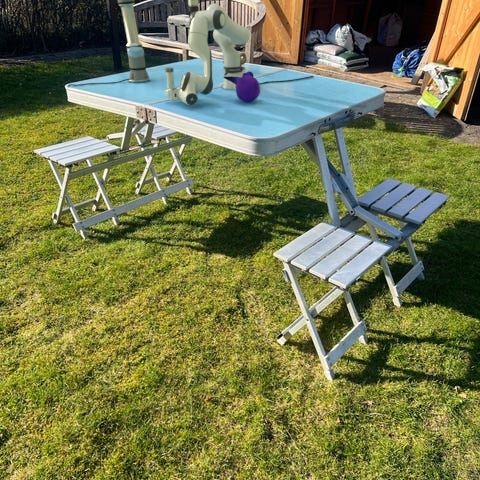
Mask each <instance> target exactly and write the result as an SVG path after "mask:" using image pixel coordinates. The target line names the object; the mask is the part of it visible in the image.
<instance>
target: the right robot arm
mask: <svg viewBox="0 0 480 480" xmlns="http://www.w3.org/2000/svg"><path fill="white" fill-rule="evenodd" d="M189 22H190V24H191V25H189V29H188V36H187V45H188V47H189V48H190V49H189V50H191V51H192V52H193V54H195V55H197V56H198V57H199V58H200V59H201V61H202V62H203V75H201V74H198V73H195V72H191V71H187V72H185V73H184V74H183V75H182V77H181V79H180V84H179V86H178V87H175V88H174V89H168V88H167V89H166V88H165V89H164V96H165V97H166V98H167V99H169V100H170V101H173V102H174V101H175V102H176V101H179V102H182V103H184V104H185V105H187V106H194V105H196V104H197V102H198V99H199V98H198V93H200V94H202V95H203V96H206V95H209V94H211V92H212V91H213V89H214V81H213V56H212V50H211V49H210V47H209V43H208V38H209V31H213V33H212V37H213V40H214V42H215V43H217V45H219V46H218V47H219V48H220V49H221V51H222V56H223V60H224V63H223V69H222V71H223V82H222V87H221V88H222V89H224V90H232V91H236V84H234V83H232V82H230V81H229V80H227V79H225V78H224V76H233V77H242V76H243V73H245V72H244V71H245V70H246V67H245V66H243V65H242V66H240V60H241V58H240V54H241V53H240V52H239V51H238V50H237V49H235V47H234V45H236V46H237V45H240V46H241V45H246V44H247V43H248V42H249V41H250V37H251V34H250V30H249V29H248V28H247V27H245V26H242V25H240V24H239V23H237V22H236V21H234V20H233V19H232V18H230V16H229V15H228V13H227V12H226V10H225V9H223V7H222V6H220V5H219V4H218V3H211V4H209V5H208V6H207V8H206V9H205V10H199V11H195V12H193V13H192V14H191V16H190V15H189ZM311 78H314V75H308V76H304V77H299V78H294V79H287V80H286V79H285V80H274V81H273V80H271V81H263V82H259V84H260V85H265V84H270V83H271V84H272V83H273V84H274V83H288V82H295V81H300V80H305V79H311Z"/></svg>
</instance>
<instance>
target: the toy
mask: <svg viewBox="0 0 480 480" xmlns="http://www.w3.org/2000/svg"><path fill="white" fill-rule="evenodd" d="M224 78H225V79H227V80H229V81H230V82H232V83H234V84H236V90H235V92H236V96H237V98H238V100H240V101H241V102H244V103H253V102H255V101H256V100H257V99H258V97H259V96H260V94H261V84H259V83H260V82H259V80H258V79H257V78H255V76H254V73H253V72H252V71H246V72H244V73H243V76H242V77H233V76H224V75H223V79H224Z"/></svg>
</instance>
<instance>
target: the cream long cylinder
mask: <svg viewBox="0 0 480 480" xmlns="http://www.w3.org/2000/svg"><path fill="white" fill-rule="evenodd" d="M165 74H166V85H167V89H174V88H176V86H175V77H174V71H173V72H166V71H165Z"/></svg>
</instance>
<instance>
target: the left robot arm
mask: <svg viewBox="0 0 480 480" xmlns="http://www.w3.org/2000/svg"><path fill="white" fill-rule="evenodd" d="M199 2H200V0H187V5H188V12H189V17H190V16H191V14H192V13H193V12H195V11H200V9H199ZM135 3H136V2H135V0H117V4H118V6H119V7H120V9H121V15H122V20H123V25H124V31H125V35H126V41H127V43H126V45H125V46H126V51H127V57H128V66H129V76H128V78H126V79H123V80H119V81H113V82H89V83H88V82H87V83H80V84H71V83H70V84H68V85H67V88H69V87H70V86H71V87H72V86H73V87H74V86H75V87H80V86H85V85H86V86H87V85H107V84H109V85H110V84H118V83H122V82H125V81H126V82H127V81H128V82H129V83H133V84H141V83H148V82H150V76H149V74H148V71H147V67H146V59H145V50H144V48H143V44H142V43H141V42H140V39H139V31H138V28H137V27H138V26H137V21H136V16H135V10H134V5H135ZM188 22H189V23H188V25H189V26H190V25H191V24H190V21H188ZM72 131H73V133H75V129H73V130H72Z"/></svg>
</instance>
